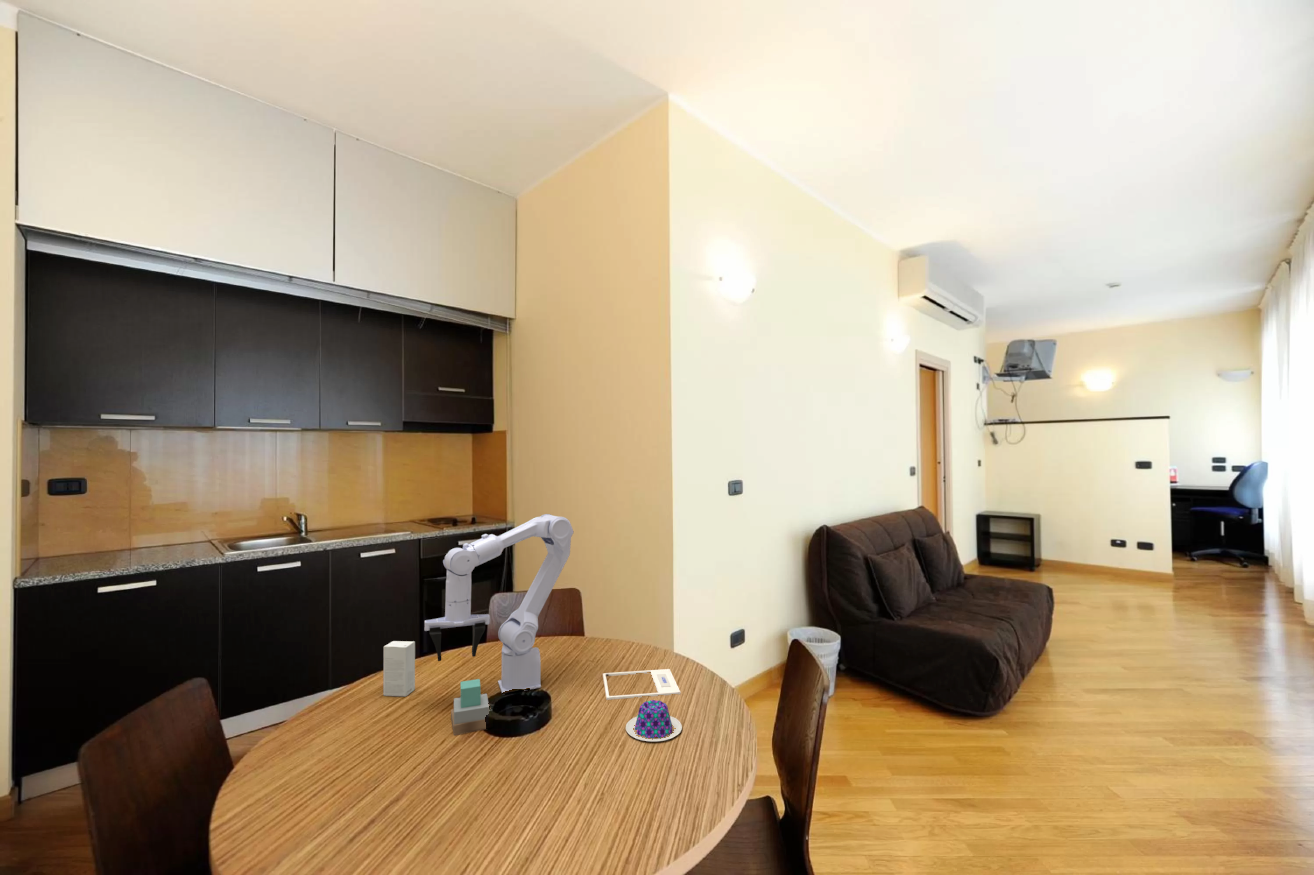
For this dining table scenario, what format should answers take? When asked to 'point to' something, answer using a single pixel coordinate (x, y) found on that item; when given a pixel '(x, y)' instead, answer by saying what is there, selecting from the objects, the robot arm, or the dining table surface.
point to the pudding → (653, 722)
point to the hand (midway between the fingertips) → (456, 657)
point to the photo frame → (660, 677)
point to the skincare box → (399, 668)
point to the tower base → (467, 726)
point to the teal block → (470, 693)
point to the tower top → (470, 711)
